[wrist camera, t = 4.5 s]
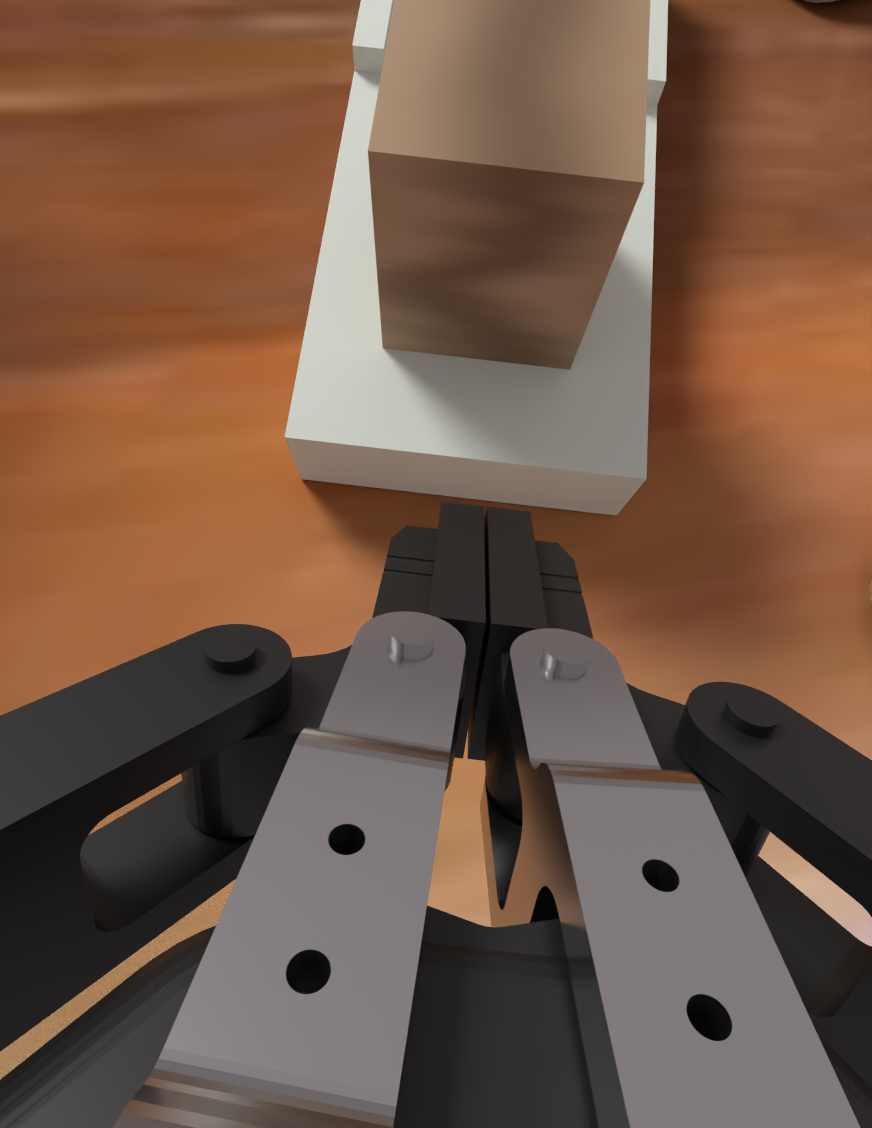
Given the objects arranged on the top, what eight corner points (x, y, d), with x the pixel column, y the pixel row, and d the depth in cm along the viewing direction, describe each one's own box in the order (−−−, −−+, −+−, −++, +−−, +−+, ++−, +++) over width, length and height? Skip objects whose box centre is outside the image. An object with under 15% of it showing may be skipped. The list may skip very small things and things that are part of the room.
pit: (361, 146, 31) (352, 45, 26) (396, -49, 34) (393, -167, 30) (630, 177, 31) (666, 81, 26) (638, -21, 34) (671, -135, 30)
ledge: (301, 479, 26) (284, 437, 23) (361, 146, 31) (354, 70, 27) (616, 515, 26) (646, 478, 23) (630, 177, 31) (657, 105, 27)
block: (382, 348, 24) (367, 150, 16) (405, 196, 26) (402, -47, 18) (570, 369, 24) (644, 182, 16) (580, 216, 26) (651, -18, 18)
